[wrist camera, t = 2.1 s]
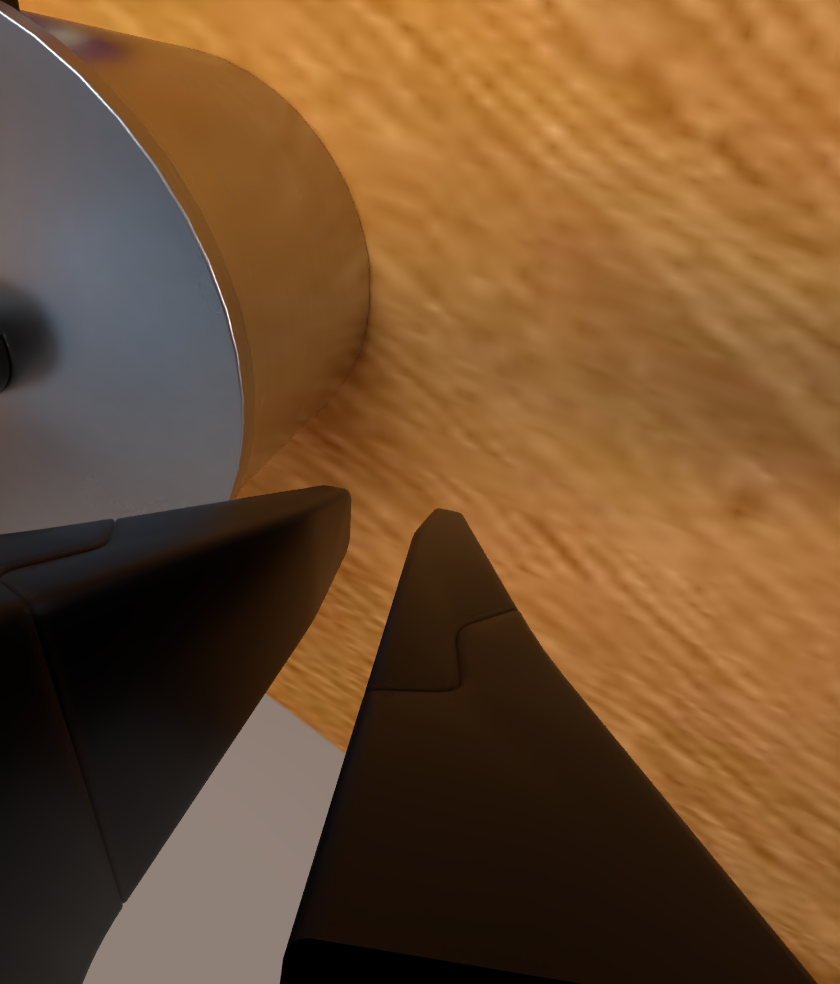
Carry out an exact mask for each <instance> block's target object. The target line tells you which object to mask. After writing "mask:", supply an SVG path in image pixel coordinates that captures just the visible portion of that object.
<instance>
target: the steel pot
mask: <svg viewBox="0 0 840 984" xmlns="http://www.w3.org/2000/svg"><path fill="white" fill-rule="evenodd" d="M369 300H370V281H369V265H368V257H367V250H366V243H365V239H364V235H363V231H362V227H361V223H360V219H359V216H358V213H357V210H356V207H355V205H354V202H353V200H352V197H351V194H350V192H349V189H348V187H347V185H346V183H345V181H344V179H343V177H342V175H341V173H340V171H339V169H338V167H337V165H336V163H335V161H334V159H333V158H332V156H331V155H330V153H329V152H328V150H327V149H326V147H325V146H324V144H323V143H322V141H321V140H320V138H319V137H318V135H317V134H316V133H315V132H314V130H313V129H312V128H311V127H310V126H309V125H308V123H307V122H306V121H305V120H304V119H303V117H302V116H301V115H300V114H299V113H298V112H297V110H295V109H294V108H293V107H292V106H291V105H290V104H289V103H288V102H287V101H286V100H285V99H284V98H283V97H281V96H280V95H279V94H278V93H277V92H276V91H275V90H274V89H272V88H271V87H270V86H268V85H267V84H265V83H264V82H263V81H261V80H260V79H258V78H257V77H255V76H254V75H253V74H251V73H250V72H248V71H246V70H244V69H242V68H240V67H238V66H236V65H234V64H233V63H231V62H229V61H227V60H225V59H222V58H219V57H216V56H214V55H211V54H208V53H205V52H202V51H199V50H195V49H190V48H186V47H182V46H177V45H173V44H168V43H164V42H160V41H155V40H151V39H146V38H142V37H137V36H133V35H129V34H124V33H120V32H115V31H111V30H107V29H102V28H98V27H93V26H89V25H85V24H80V23H76V22H71V21H67V20H62V19H58V18H54V17H49V16H45V15H40V14H36V13H32V12H27V11H23V10H20V9H19V3H18V0H0V534H7V533H15V532H23V531H31V530H38V529H45V528H52V527H59V526H65V525H72V524H79V523H86V522H92V521H98V520H104V519H113V520H114V521H115V522H116V520H117V519H118V518H124V517H130V516H136V515H142V514H148V513H155V512H161V511H167V510H173V509H180V508H186V507H192V506H198V505H204V504H211V503H217V502H223V501H229V500H235V498H236V496H237V494H238V492H239V490H240V489H241V488H242V487H243V486H244V485H245V484H246V483H247V482H248V481H249V480H250V479H251V478H252V477H253V476H254V475H255V474H256V473H257V472H258V471H259V470H260V469H261V468H262V467H263V466H264V465H265V464H266V463H267V462H268V461H269V460H270V459H271V458H272V457H273V456H274V455H275V454H276V453H277V452H278V451H279V450H280V449H281V448H282V447H283V446H284V445H285V444H286V443H287V442H288V441H289V440H290V439H291V438H292V437H293V436H294V435H295V434H296V433H297V432H298V431H299V430H300V429H301V428H302V427H303V426H304V425H305V424H306V423H307V422H308V421H309V420H310V419H311V418H312V417H313V416H314V415H316V414H317V413H318V412H319V411H320V410H321V409H322V408H323V407H324V406H325V405H326V404H327V403H328V402H329V401H330V400H331V398H332V397H333V396H334V395H335V393H336V392H337V391H338V390H339V388H340V387H341V386H342V384H343V383H344V381H345V380H346V378H347V376H348V374H349V372H350V371H351V369H352V367H353V365H354V363H355V360H356V358H357V355H358V353H359V350H360V348H361V345H362V341H363V337H364V333H365V329H366V324H367V318H368V309H369Z"/></svg>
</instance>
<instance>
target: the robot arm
mask: <svg viewBox="0 0 840 984" xmlns="http://www.w3.org/2000/svg"><path fill="white" fill-rule="evenodd" d="M350 520H351V495H350V493H349V491H348V490H346V489H342V488H337V487H332V486H325V485H323V486H316V487H310V488H304V489H298V490H291V491H285V492H279V493H273V494H267V495H260V496H254V497H248V498H242V499H235V500H229V501H223V502H217V503H211V504H204V505H198V506H192V507H186V508H180V509H173V510H167V511H161V512H155V513H148V514H142V515H136V516H130V517H124V518H118V519H117V520H116V522H115V521H114V520H113V519H104V520H98V521H92V522H86V523H79V524H72V525H65V526H59V527H52V528H45V529H38V530H31V531H23V532H15V533H7V534H0V984H82V983H83V981H84V978H85V976H86V974H87V971H88V969H89V967H90V965H91V962H92V960H93V958H94V956H95V954H96V952H97V950H98V948H99V946H100V945H101V943H102V941H103V939H104V937H105V935H106V933H107V932H108V930H109V928H110V927H111V925H112V923H113V922H114V920H115V918H116V917H117V915H118V914H119V912H120V910H121V909H122V906H123V905H122V903H125V902H126V901H127V900H128V898H129V897H130V895H131V894H132V892H133V891H134V889H135V888H136V886H137V885H138V883H139V882H140V880H141V879H142V877H143V876H144V874H145V873H146V871H147V870H148V868H149V867H150V865H151V864H152V862H153V861H154V859H155V858H156V856H157V855H158V853H159V852H160V850H161V849H162V847H163V846H164V844H165V843H166V841H167V840H168V838H169V837H170V835H171V834H172V832H173V831H174V829H175V828H176V826H177V825H178V823H179V822H180V820H181V819H182V817H183V816H184V814H185V813H186V811H187V810H188V808H189V807H190V805H191V804H192V802H193V801H194V799H195V798H196V796H197V795H198V793H199V792H200V790H201V789H202V787H203V786H204V784H205V783H206V781H207V780H208V778H209V777H210V775H211V774H212V772H213V771H214V769H215V767H216V766H217V765H218V763H219V762H220V760H221V759H222V757H223V756H224V754H225V753H226V751H227V750H228V748H229V747H230V745H231V744H232V742H233V741H234V739H235V738H236V736H237V735H238V733H239V732H240V730H241V729H242V727H243V726H244V724H245V723H246V721H247V720H248V718H249V717H250V715H251V714H252V712H253V711H254V709H255V708H256V706H257V705H258V703H259V702H260V700H261V699H262V697H263V696H264V694H265V693H266V691H267V690H268V688H269V687H270V685H271V684H272V682H273V681H274V679H275V678H276V676H277V675H278V673H279V672H280V670H281V669H282V667H283V666H284V664H285V663H286V661H287V660H288V658H289V657H290V655H291V654H292V652H293V651H294V649H295V648H296V646H297V645H298V643H299V642H300V640H301V639H302V637H303V636H304V634H305V633H306V631H307V630H308V628H309V626H310V625H311V623H312V622H313V620H314V618H315V616H316V614H317V612H318V610H319V608H320V606H321V604H322V602H323V600H324V598H325V596H326V594H327V592H328V590H329V588H330V585H331V583H332V581H333V579H334V577H335V575H336V573H337V571H338V569H339V567H340V565H341V563H342V560H343V558H344V556H345V554H346V552H347V549H348V545H349V539H350ZM280 984H817V982H816V981H815V980H814V979H813V978H812V976H811V975H810V974H809V973H808V971H807V970H806V969H805V968H804V967H803V965H802V964H801V963H800V962H799V961H798V959H797V958H796V957H795V956H794V954H793V953H792V952H791V951H790V950H789V948H788V947H787V946H786V945H785V944H784V942H783V941H782V940H781V939H780V937H779V936H778V935H777V934H776V933H775V931H774V930H773V929H772V928H771V927H770V925H769V924H768V923H767V922H766V921H765V919H764V918H763V917H762V916H761V914H760V913H759V912H758V911H757V910H756V908H755V907H754V906H753V905H752V904H751V902H750V901H749V900H748V899H747V897H746V896H745V895H744V894H743V893H742V891H741V890H740V889H739V888H738V887H737V885H736V884H735V883H734V882H733V880H732V879H731V878H730V877H729V876H728V874H727V873H726V872H725V871H724V870H723V868H722V867H721V866H720V865H719V864H718V862H717V861H716V860H715V859H714V857H713V856H712V855H711V854H710V853H709V851H708V850H707V849H706V848H705V847H704V845H703V844H702V843H701V842H700V840H699V839H698V838H697V837H696V836H695V834H694V833H693V832H692V831H691V830H690V828H689V827H688V826H687V825H686V823H685V822H684V821H683V820H682V819H681V817H680V816H679V815H678V814H677V813H676V811H675V810H674V809H673V808H672V807H671V805H670V804H669V803H668V802H667V800H666V799H665V798H664V797H663V796H662V794H661V793H660V792H659V791H658V790H657V788H656V787H655V786H654V785H653V783H652V782H651V781H650V780H649V779H648V777H647V776H646V775H645V774H644V773H643V771H642V770H641V769H640V768H639V766H638V765H637V764H636V763H635V762H634V760H633V759H632V758H631V757H630V756H629V754H628V753H627V752H626V751H625V750H624V748H623V747H622V746H621V745H620V743H619V742H618V741H617V740H616V739H615V737H614V736H613V735H612V734H611V733H610V731H609V730H608V729H607V728H606V726H605V725H604V724H603V723H602V722H601V720H600V719H599V718H598V717H597V716H596V714H595V713H594V712H593V711H592V709H591V708H590V707H589V706H588V705H587V703H586V702H585V701H584V700H583V699H582V697H581V696H580V695H579V694H578V693H577V691H576V690H575V689H574V688H573V686H572V685H571V684H570V683H569V682H568V680H567V679H566V678H565V677H564V675H563V674H562V673H561V671H560V670H559V669H558V668H557V666H556V665H555V664H554V662H553V661H552V660H551V658H550V657H549V656H548V655H547V653H546V652H545V651H544V649H543V648H542V646H541V645H540V643H539V642H538V640H537V639H536V637H535V636H534V634H533V632H532V631H531V629H530V628H529V626H528V625H527V623H526V621H525V620H524V618H523V616H522V614H521V613H520V612H519V611H518V609H517V608H516V606H515V604H514V602H513V601H512V599H511V597H510V596H509V594H508V592H507V590H506V589H505V587H504V585H503V584H502V582H501V580H500V578H499V577H498V575H497V573H496V572H495V570H494V568H493V566H492V565H491V563H490V561H489V560H488V558H487V556H486V554H485V553H484V551H483V549H482V548H481V546H480V544H479V542H478V541H477V539H476V537H475V535H474V534H473V532H472V530H471V529H470V527H469V525H468V523H467V522H466V520H465V518H464V517H463V515H462V514H461V513H459V512H455V511H450V510H445V509H440V508H437V509H435V510H434V511H433V512H432V513H431V514H430V515H429V517H428V518H427V519H426V520H425V521H424V522H423V523H422V524H421V526H420V527H419V528H418V529H417V530H416V532H415V533H414V536H413V538H412V541H411V544H410V548H409V551H408V554H407V557H406V561H405V564H404V567H403V570H402V574H401V577H400V580H399V583H398V587H397V590H396V593H395V596H394V600H393V603H392V606H391V609H390V613H389V616H388V619H387V622H386V626H385V629H384V632H383V635H382V639H381V642H380V645H379V648H378V652H377V655H376V658H375V661H374V665H373V668H372V671H371V674H370V678H369V681H368V684H367V687H366V691H365V694H364V697H363V700H362V703H361V706H360V709H359V713H358V716H357V719H356V722H355V726H354V729H353V732H352V735H351V739H350V742H349V745H348V749H347V752H346V755H345V758H344V762H343V765H342V768H341V771H340V775H339V778H338V781H337V785H336V788H335V791H334V794H333V798H332V801H331V804H330V808H329V811H328V814H327V817H326V821H325V824H324V827H323V830H322V834H321V837H320V840H319V843H318V846H317V850H316V853H315V856H314V860H313V863H312V866H311V870H310V873H309V876H308V879H307V882H306V886H305V889H304V892H303V895H302V899H301V902H300V906H299V908H298V912H297V915H296V918H295V922H294V925H293V928H292V932H291V935H290V938H289V941H288V944H287V948H286V951H285V955H284V957H283V964H282V972H281V979H280Z"/></svg>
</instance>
